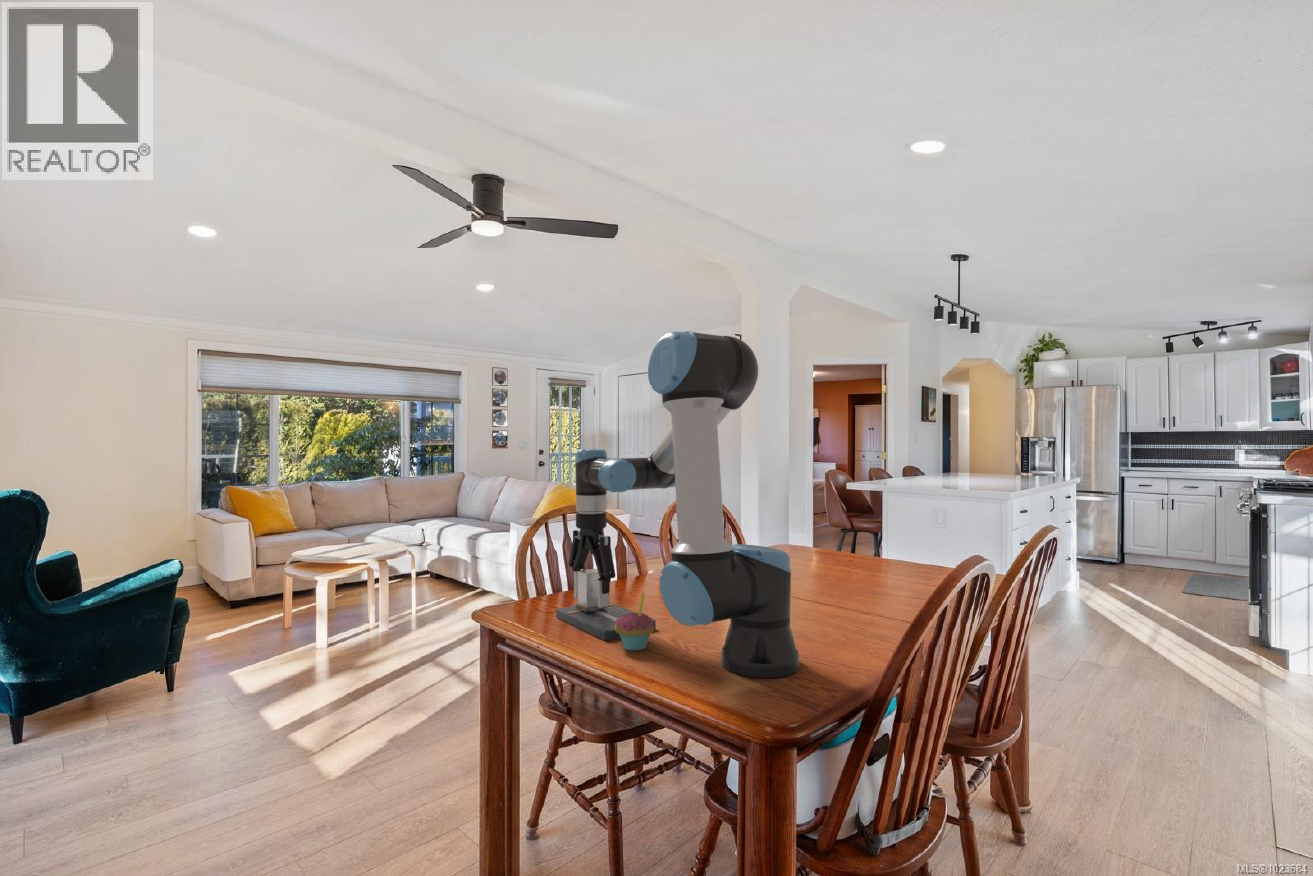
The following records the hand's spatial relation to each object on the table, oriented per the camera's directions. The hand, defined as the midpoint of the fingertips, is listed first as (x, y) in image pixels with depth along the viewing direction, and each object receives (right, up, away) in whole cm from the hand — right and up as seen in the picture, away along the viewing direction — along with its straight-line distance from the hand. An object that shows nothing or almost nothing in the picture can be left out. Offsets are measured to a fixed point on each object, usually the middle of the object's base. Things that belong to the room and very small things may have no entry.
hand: (591, 601), depth 157 cm
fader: (0, -2, 0) cm, 2 cm away
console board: (+4, -4, -5) cm, 7 cm away
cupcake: (+11, -4, -21) cm, 25 cm away
